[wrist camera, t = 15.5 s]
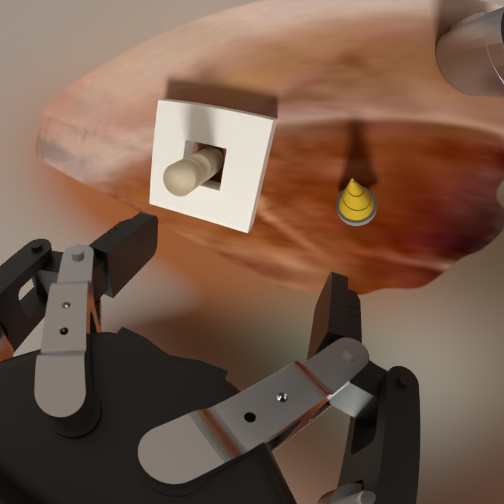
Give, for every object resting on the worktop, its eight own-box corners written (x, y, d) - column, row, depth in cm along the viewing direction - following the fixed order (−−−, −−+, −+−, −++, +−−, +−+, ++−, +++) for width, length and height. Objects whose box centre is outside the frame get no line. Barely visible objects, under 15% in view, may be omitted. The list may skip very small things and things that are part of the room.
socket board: (169, 98, 37) (158, 100, 34) (277, 118, 35) (273, 120, 32) (159, 196, 45) (149, 203, 43) (253, 224, 44) (247, 233, 41)
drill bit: (331, 215, 40) (318, 179, 31) (358, 191, 40) (351, 151, 31) (357, 241, 38) (351, 210, 29) (384, 216, 37) (385, 178, 28)
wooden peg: (200, 144, 39) (164, 160, 31) (226, 150, 39) (195, 167, 31) (197, 170, 41) (162, 192, 33) (222, 176, 41) (191, 200, 33)
